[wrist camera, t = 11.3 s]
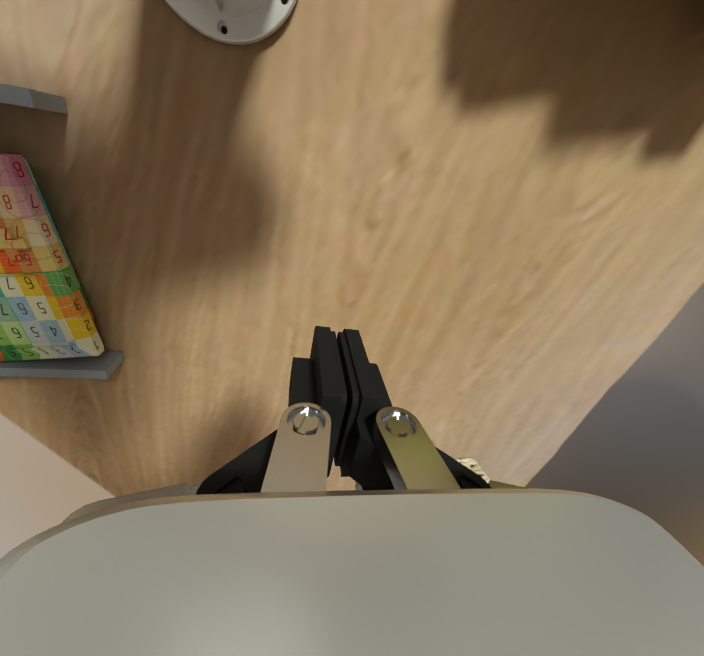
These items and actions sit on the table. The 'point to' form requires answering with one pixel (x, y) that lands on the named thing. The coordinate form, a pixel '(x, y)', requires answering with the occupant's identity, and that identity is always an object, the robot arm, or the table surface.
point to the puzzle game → (37, 277)
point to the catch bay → (59, 366)
